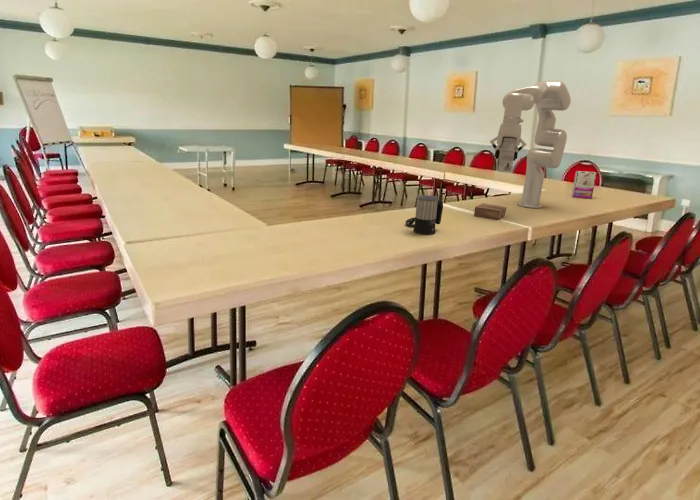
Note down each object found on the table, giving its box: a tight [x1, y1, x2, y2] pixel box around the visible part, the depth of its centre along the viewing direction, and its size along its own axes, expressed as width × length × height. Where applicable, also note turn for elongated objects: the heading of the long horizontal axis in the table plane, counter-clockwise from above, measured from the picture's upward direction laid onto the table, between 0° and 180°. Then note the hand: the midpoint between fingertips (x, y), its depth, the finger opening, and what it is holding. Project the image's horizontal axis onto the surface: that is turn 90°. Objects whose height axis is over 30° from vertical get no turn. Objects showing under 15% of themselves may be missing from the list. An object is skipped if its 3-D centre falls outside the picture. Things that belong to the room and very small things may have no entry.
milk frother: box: [405, 194, 444, 235], centre depth 199 cm, size 14×16×15 cm
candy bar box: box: [571, 170, 598, 200], centre depth 296 cm, size 11×5×16 cm, turn 81°
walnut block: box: [473, 203, 507, 221], centre depth 232 cm, size 12×12×5 cm
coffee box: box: [495, 136, 517, 173], centre depth 224 cm, size 9×6×16 cm
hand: (505, 159), depth 224 cm, fingers closed on coffee box, 7 cm apart
